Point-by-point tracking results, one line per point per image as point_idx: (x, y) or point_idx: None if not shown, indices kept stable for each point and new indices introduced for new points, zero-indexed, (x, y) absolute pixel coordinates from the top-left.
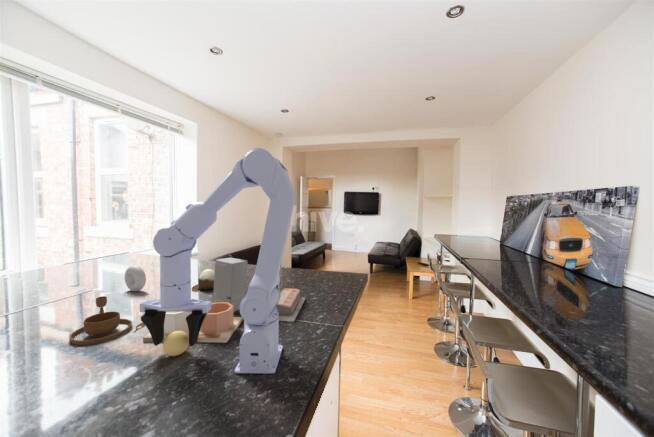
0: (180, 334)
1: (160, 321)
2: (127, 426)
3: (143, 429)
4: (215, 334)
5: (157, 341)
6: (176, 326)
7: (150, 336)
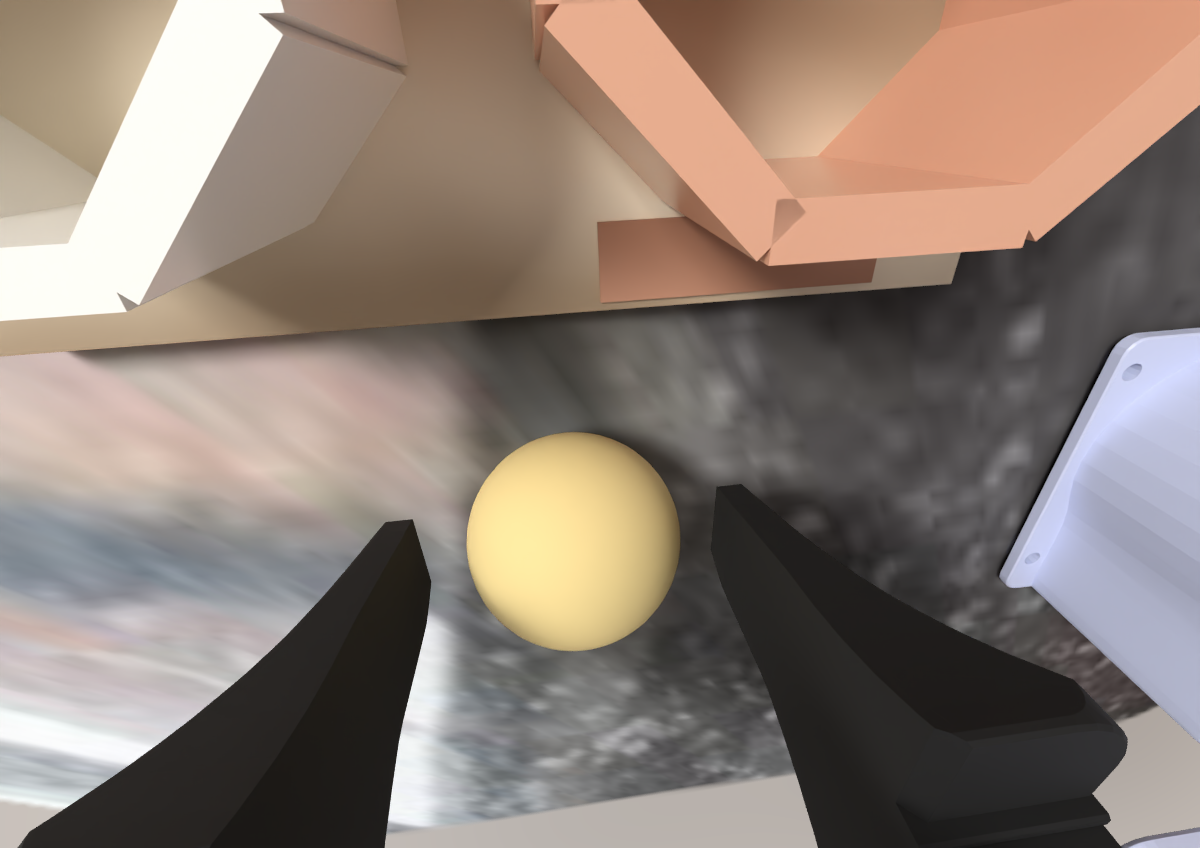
0: (639, 620)
1: (347, 750)
2: (673, 782)
3: (729, 779)
4: None
5: (424, 607)
6: (275, 236)
7: (59, 324)
